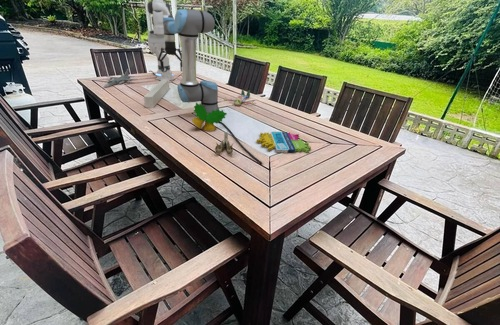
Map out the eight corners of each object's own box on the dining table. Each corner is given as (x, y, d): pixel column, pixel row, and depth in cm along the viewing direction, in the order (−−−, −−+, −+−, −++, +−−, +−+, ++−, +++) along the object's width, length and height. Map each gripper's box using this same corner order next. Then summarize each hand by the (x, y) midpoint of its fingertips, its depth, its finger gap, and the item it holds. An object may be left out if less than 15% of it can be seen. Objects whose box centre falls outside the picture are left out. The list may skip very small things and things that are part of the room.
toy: (261, 91, 228) (254, 99, 202) (261, 99, 231) (253, 108, 205) (231, 87, 233) (220, 95, 207) (230, 95, 236) (219, 104, 210)
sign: (313, 150, 142) (258, 149, 139) (312, 153, 143) (258, 152, 140) (301, 132, 164) (254, 130, 161) (301, 134, 165) (254, 133, 162)
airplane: (101, 79, 257) (98, 68, 252) (135, 77, 270) (133, 67, 265) (102, 89, 228) (99, 78, 223) (140, 87, 242) (138, 76, 237)
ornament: (218, 133, 171) (224, 110, 169) (221, 134, 163) (227, 111, 161) (186, 125, 162) (192, 101, 160) (189, 126, 155) (195, 101, 153)
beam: (153, 108, 192) (151, 96, 188) (145, 107, 192) (143, 96, 188) (169, 88, 244) (168, 79, 240) (163, 88, 243) (162, 79, 239)
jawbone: (234, 135, 144) (233, 125, 135) (233, 160, 138) (232, 151, 129) (217, 135, 144) (216, 125, 135) (216, 160, 138) (214, 150, 129)
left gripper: (172, 32, 225) (173, 49, 232) (147, 31, 222) (149, 48, 228) (172, 32, 220) (173, 50, 226) (146, 31, 216) (148, 49, 223)
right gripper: (187, 41, 199) (188, 70, 209) (153, 39, 195) (156, 69, 205) (186, 42, 193) (188, 72, 203) (151, 40, 188) (154, 71, 199)
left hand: (161, 49), depth 227 cm, fingers open, 8 cm apart
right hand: (172, 70), depth 204 cm, fingers open, 13 cm apart
